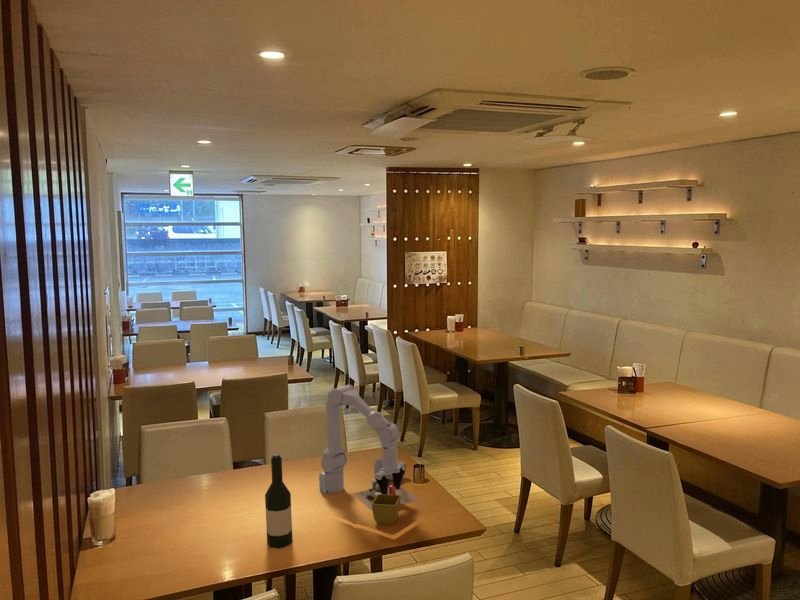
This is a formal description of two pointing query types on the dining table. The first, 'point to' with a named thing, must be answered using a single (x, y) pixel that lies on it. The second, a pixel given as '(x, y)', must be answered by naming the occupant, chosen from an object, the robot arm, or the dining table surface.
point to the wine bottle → (278, 508)
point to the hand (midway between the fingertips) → (390, 492)
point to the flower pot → (386, 508)
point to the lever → (373, 494)
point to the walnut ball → (377, 488)
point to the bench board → (402, 492)
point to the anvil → (374, 484)
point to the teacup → (379, 465)
